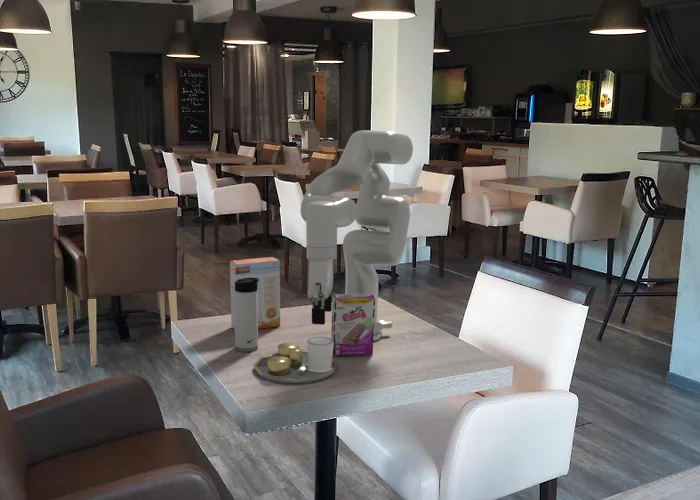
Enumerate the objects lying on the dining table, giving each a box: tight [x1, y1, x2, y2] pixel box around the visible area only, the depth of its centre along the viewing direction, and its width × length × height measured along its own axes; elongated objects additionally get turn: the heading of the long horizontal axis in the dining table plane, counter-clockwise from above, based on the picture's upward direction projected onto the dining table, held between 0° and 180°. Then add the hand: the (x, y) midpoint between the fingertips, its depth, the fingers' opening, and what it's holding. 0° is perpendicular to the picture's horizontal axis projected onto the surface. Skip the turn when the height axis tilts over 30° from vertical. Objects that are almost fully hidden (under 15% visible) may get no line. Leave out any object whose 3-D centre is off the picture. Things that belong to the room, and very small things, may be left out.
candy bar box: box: [330, 293, 375, 357], centre depth 188 cm, size 11×5×16 cm, turn 100°
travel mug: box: [234, 278, 259, 353], centre depth 190 cm, size 6×7×20 cm
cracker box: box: [229, 256, 281, 331], centre depth 209 cm, size 14×6×21 cm, turn 117°
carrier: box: [253, 342, 338, 386], centre depth 177 cm, size 21×21×5 cm
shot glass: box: [306, 336, 334, 371], centre depth 175 cm, size 7×7×7 cm
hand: (322, 317), depth 175 cm, fingers open, 9 cm apart
